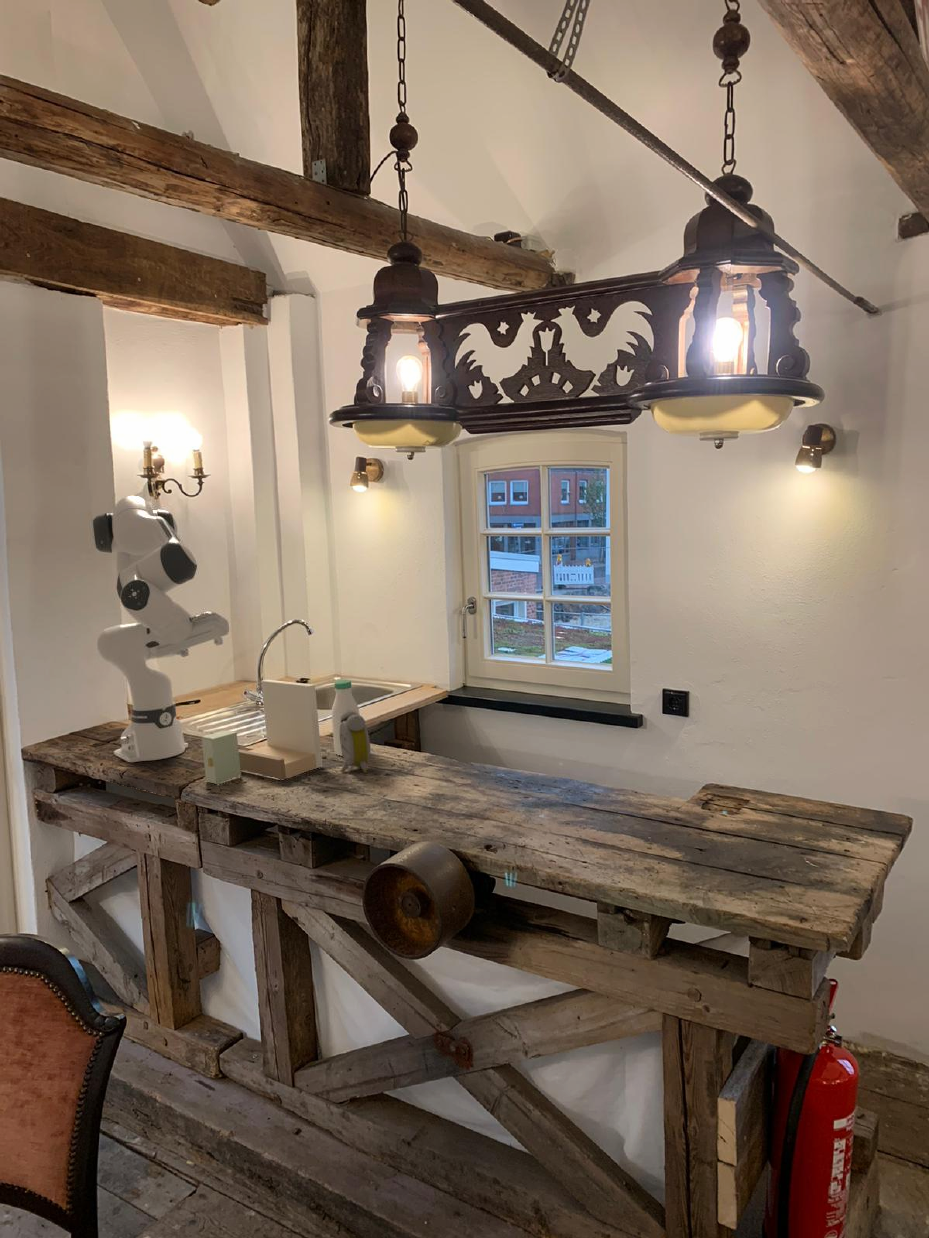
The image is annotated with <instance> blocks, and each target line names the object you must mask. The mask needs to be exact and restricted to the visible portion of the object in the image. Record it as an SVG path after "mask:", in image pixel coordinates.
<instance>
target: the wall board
mask: <svg viewBox="0 0 929 1238" xmlns="http://www.w3.org/2000/svg"><path fill="white" fill-rule="evenodd" d="M260 683H261V690H262V691H261V693H262V703H263V712H264V720H265V730H266V742H267V745H264V746H261V747H257V748H254V749H251V750H243V749H239V748H238V750H239V760H240V769H241V770H248V771H251V772H255V773H260V774H263V775H266V776H270V777H275V778H278V779H280V780H282V779H285V778H287V777H292V776H294V775H297V774H299V773H304V772H306V771H309V770H313V769H316V768H318V767H321V768H323V760H322V749H321V748H322V747H321V746H322V745H321V735H320V734H321V733H320V726H319V725H320V724H319V715H318V703H317V694H316V692H317V691H316V685H315V684H314V683H313V684H312V683H303V682H293V681H283V680H276V679H274V680H273V679H263V680H261V681H260ZM316 770H317V769H316ZM313 771H314V770H313ZM304 774H305V773H304Z"/></svg>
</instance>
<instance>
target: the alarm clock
mask: <svg viewBox="0 0 929 1238" xmlns="http://www.w3.org/2000/svg"><path fill="white" fill-rule="evenodd" d="M368 731H369V730H368V727H367V725H366V720H365V719H364V717H363V716H362V715H358V714H357V713H356V712H355V711H352V710H347V711H346V712H344V713H343V714H342V716H341V725H340V744H341V750H342V755H343V756H342V757H343V760H344V761H343V762H344V763H343V766H342V768H341V771H340V772H342V773H345V772H346V771H347V769H348V768H349V767H354V766H360V767H361V770H362V771H363V773H364V774H368V767H367V764H368V763H369V761H370V758H371V742H370V741H371V740H370V736H369V732H368Z"/></svg>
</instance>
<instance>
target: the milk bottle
mask: <svg viewBox="0 0 929 1238" xmlns="http://www.w3.org/2000/svg"><path fill="white" fill-rule="evenodd" d="M334 691H335V698H334V701H333V705H332V707H331V723H332V736H333V737H332V738H333V749H334V753H335V755H336V754H337V755H336V756H339V755H340V756H341V757H343V755H342V750H341V744H340V725H341V716H342V714H343V713H344V712H346V711H347V710H352V711H355V712H356V713H357V714H358V715H360V709H359V706H358V704H357V702H356V700H355V698H354V696H353V694H352V681H351V680H337V681H336V682H334ZM360 716H361V715H360ZM340 756H339V757H340Z"/></svg>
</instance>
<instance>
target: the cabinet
mask: <svg viewBox="0 0 929 1238" xmlns="http://www.w3.org/2000/svg"><path fill="white" fill-rule="evenodd" d="M201 745H202V746H201V747H202V748H201V749H202V754H203V756H202V757H203V763H204V764H203V765H204V774H205V782H206V783H207V782H211V783H215V784H219V783H221V782H223V781H226V780H229V779H232V778H233V777H237V776H239V775H241V776H242V772H241V769H240V760H239V750H240V749H239V742H238V733H237V731H230V730H226V729H225V730H221V731H217V732H214V733H211V734H210V733H209V734H206V735H202V736H201ZM238 749H239V750H238Z"/></svg>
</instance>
